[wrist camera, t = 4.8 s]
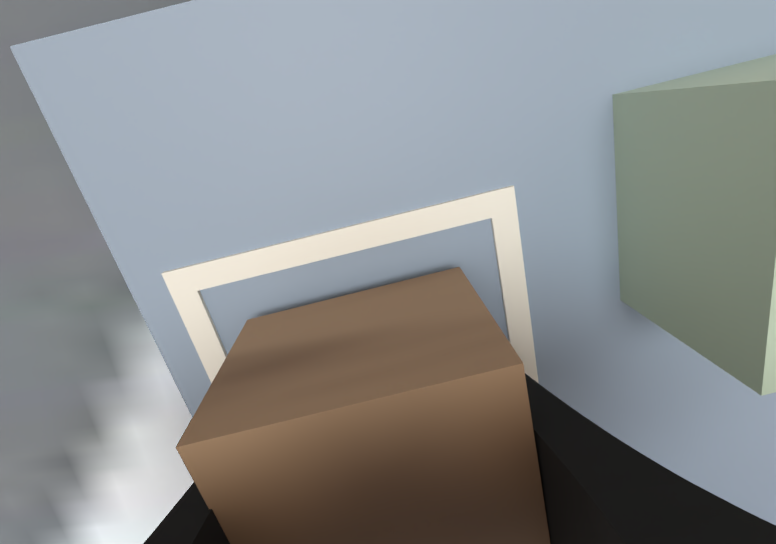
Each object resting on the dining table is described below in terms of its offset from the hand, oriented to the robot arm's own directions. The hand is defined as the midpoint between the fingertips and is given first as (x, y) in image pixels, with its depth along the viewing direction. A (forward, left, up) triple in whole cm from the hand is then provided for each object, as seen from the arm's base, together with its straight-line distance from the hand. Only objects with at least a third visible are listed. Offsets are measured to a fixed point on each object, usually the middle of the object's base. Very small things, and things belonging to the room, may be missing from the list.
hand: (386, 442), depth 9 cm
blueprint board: (-1, -4, -3) cm, 5 cm away
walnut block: (0, 0, -2) cm, 2 cm away
